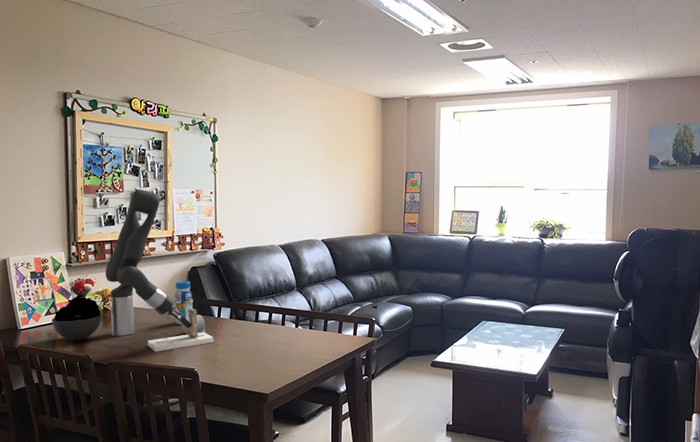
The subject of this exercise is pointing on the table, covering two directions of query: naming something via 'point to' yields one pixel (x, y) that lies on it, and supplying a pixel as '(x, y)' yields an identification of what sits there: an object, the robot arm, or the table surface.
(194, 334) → the fader tab
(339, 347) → the table surface
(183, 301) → the beverage bottle
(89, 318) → the bowl of black rocks
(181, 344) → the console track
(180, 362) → the table surface
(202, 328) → the ceramic mug
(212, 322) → the table surface
